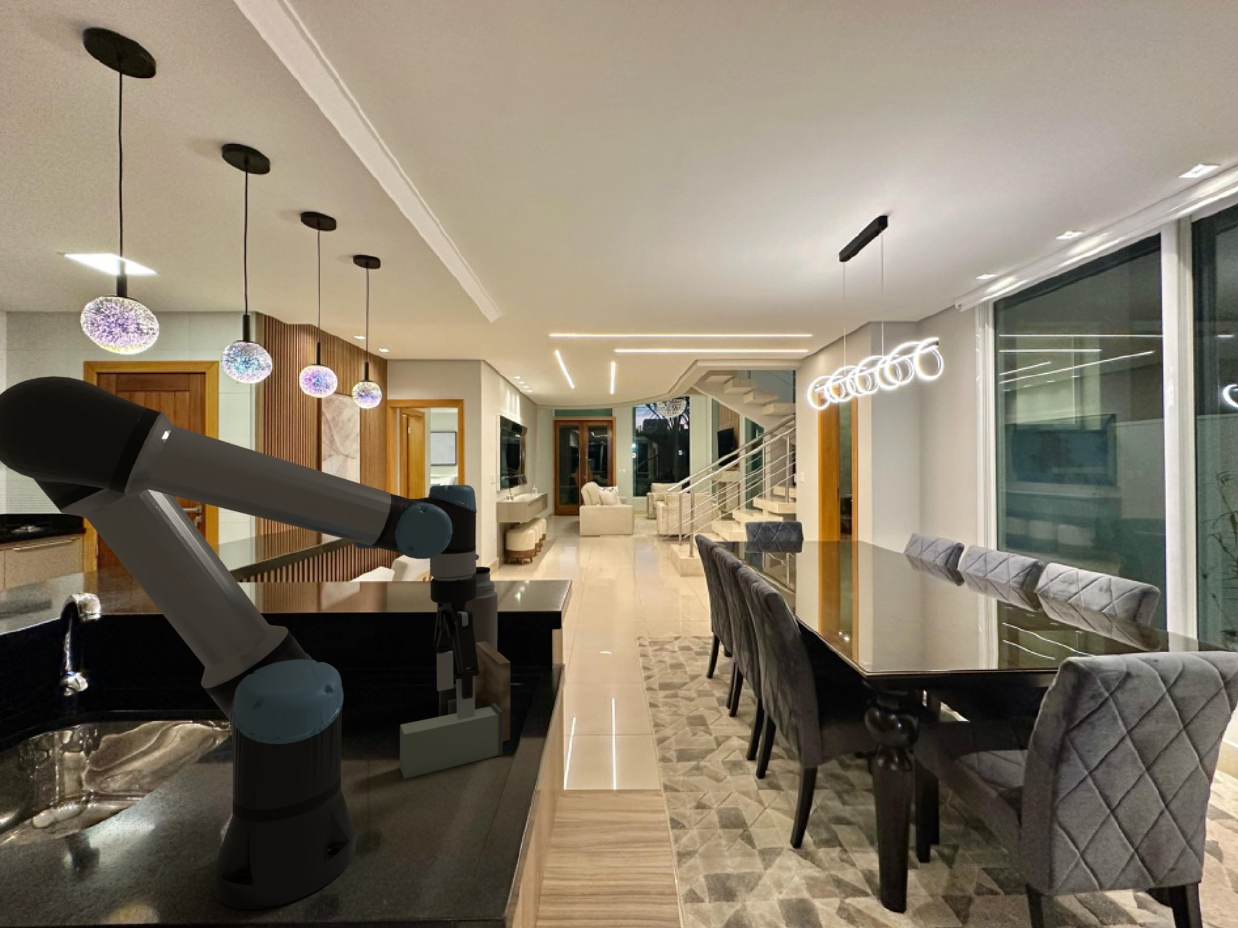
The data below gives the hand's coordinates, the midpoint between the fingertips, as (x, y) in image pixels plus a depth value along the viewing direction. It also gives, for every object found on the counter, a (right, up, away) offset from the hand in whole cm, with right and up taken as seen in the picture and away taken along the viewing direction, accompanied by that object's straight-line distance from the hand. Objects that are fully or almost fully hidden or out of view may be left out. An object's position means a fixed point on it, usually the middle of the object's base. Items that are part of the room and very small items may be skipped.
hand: (454, 702), depth 98 cm
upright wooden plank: (0, -10, +12) cm, 15 cm away
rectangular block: (0, -10, 0) cm, 10 cm away
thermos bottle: (-3, -10, +26) cm, 28 cm away
